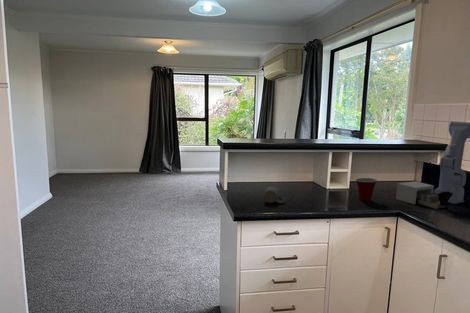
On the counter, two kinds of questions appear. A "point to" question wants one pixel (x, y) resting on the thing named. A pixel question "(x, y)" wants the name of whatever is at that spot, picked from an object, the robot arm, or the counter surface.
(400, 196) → the grey rectangular box
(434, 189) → the robot arm
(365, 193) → the plastic cup
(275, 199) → the ceramic mug
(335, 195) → the counter surface
